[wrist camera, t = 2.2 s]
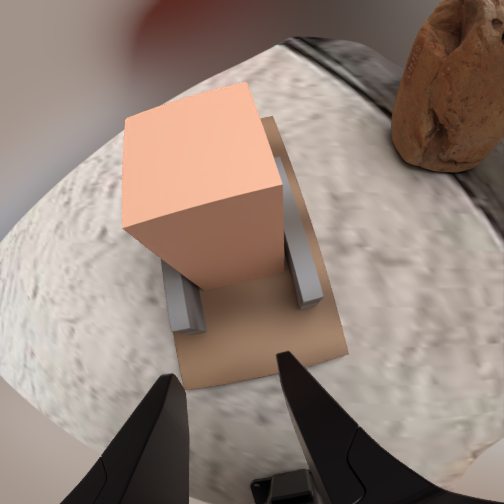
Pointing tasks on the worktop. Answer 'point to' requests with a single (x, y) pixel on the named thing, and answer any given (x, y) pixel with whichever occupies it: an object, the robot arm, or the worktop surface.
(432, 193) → the worktop surface
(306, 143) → the worktop surface
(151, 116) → the block
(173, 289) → the chute
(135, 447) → the robot arm
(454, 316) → the worktop surface
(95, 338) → the worktop surface
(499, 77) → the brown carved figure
